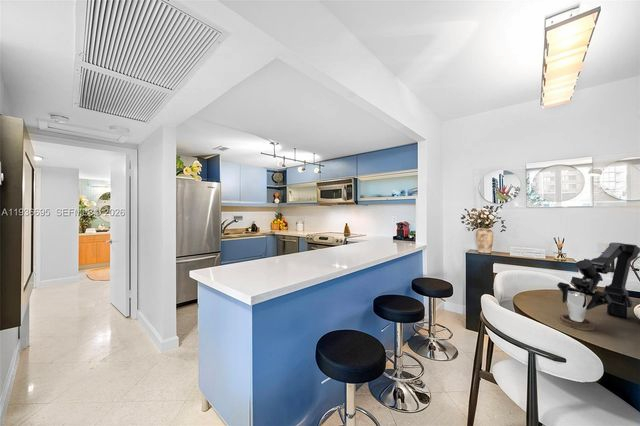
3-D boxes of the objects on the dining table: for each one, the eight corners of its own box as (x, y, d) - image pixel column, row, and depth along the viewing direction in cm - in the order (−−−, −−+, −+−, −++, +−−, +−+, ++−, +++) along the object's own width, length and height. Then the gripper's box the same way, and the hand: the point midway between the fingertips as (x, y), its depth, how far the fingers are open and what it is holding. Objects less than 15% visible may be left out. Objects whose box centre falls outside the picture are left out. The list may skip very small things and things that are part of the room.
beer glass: (586, 328, 118) (586, 297, 117) (565, 322, 123) (566, 293, 122) (587, 323, 122) (587, 293, 121) (567, 318, 127) (568, 290, 127)
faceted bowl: (594, 324, 122) (594, 319, 122) (594, 333, 114) (595, 328, 114) (559, 316, 131) (559, 312, 131) (557, 324, 123) (557, 319, 123)
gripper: (559, 267, 132) (544, 289, 129) (608, 276, 114) (592, 302, 111) (569, 280, 134) (555, 302, 132) (618, 291, 116) (603, 317, 114)
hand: (574, 305), depth 122 cm, fingers open, 9 cm apart
